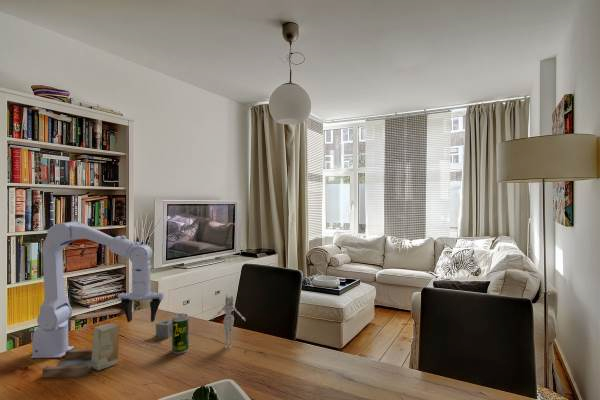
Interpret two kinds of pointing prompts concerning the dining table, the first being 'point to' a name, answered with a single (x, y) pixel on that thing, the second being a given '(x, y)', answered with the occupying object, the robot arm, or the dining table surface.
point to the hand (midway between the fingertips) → (141, 320)
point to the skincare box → (105, 346)
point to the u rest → (71, 365)
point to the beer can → (180, 333)
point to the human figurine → (228, 317)
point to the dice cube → (164, 329)
